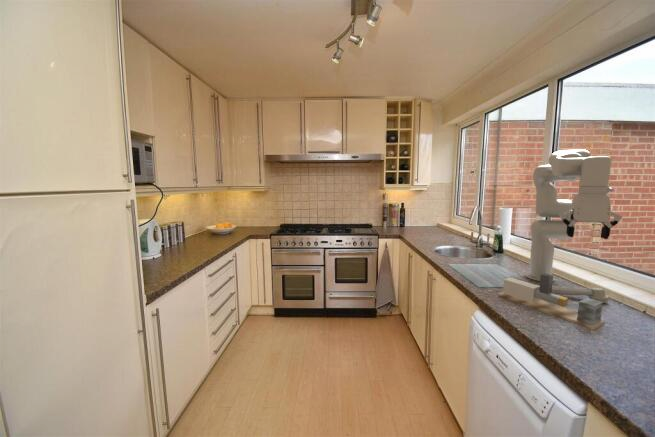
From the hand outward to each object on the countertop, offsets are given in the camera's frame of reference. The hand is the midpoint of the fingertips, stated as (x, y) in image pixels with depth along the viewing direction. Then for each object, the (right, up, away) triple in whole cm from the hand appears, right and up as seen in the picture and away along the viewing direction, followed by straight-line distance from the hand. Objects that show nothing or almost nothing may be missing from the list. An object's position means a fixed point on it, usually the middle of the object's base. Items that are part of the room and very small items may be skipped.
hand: (586, 237), depth 99 cm
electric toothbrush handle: (+12, -29, +21) cm, 38 cm away
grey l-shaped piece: (-8, -26, +15) cm, 31 cm away
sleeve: (-10, -28, +20) cm, 36 cm away
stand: (-6, -30, +11) cm, 33 cm away
